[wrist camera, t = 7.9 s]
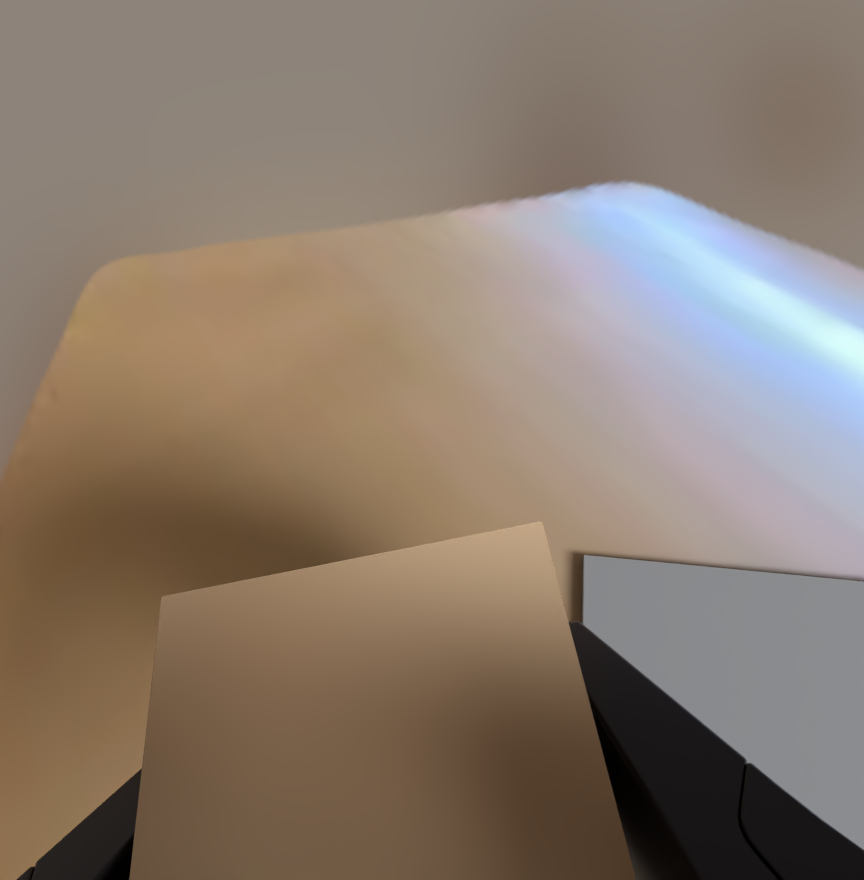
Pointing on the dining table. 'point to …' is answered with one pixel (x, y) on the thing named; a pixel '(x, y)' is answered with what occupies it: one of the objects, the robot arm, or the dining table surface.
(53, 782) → the dining table surface
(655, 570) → the mat
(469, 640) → the beige tall block
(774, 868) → the robot arm
